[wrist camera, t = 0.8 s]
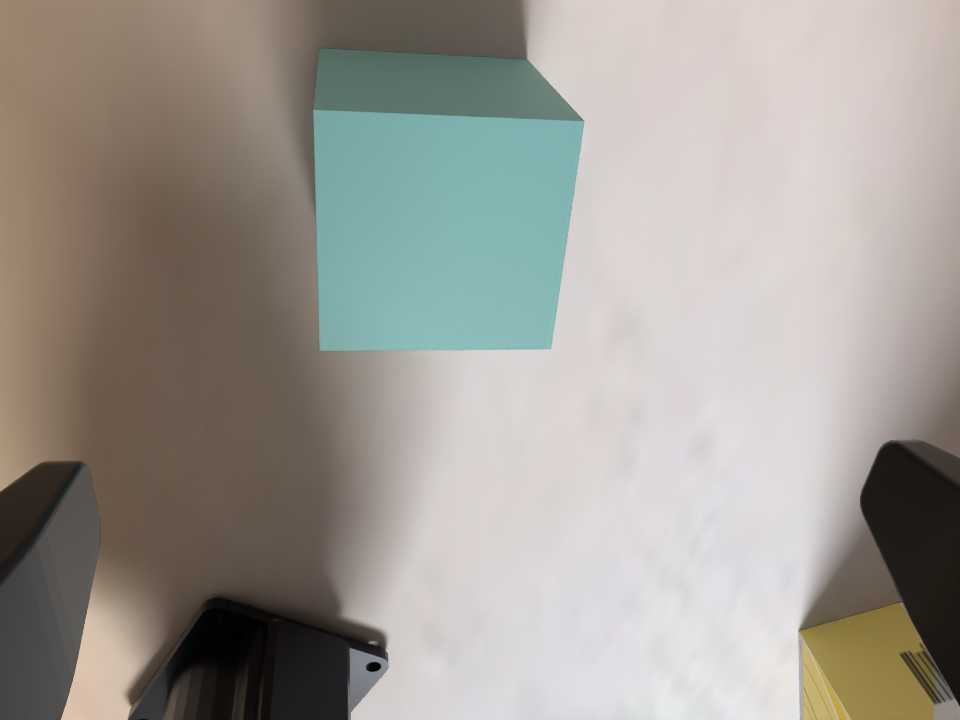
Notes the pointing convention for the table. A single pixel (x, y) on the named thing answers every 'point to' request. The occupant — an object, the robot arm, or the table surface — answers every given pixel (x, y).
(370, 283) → the teal block
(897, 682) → the pasta box
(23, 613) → the robot arm
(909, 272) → the table surface
